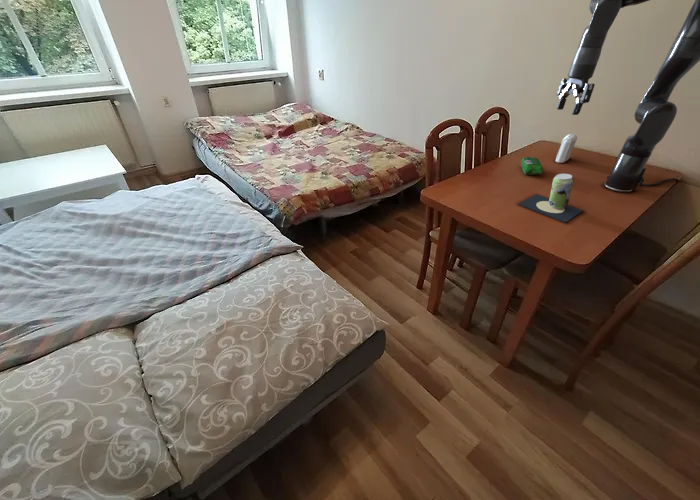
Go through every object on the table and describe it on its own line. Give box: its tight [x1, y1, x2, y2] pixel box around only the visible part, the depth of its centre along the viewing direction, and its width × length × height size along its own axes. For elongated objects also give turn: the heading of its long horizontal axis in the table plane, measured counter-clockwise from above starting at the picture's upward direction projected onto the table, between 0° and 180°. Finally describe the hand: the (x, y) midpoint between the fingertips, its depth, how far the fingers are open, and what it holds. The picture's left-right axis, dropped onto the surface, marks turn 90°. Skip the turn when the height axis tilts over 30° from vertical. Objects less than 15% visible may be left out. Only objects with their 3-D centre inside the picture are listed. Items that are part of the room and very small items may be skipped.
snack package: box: [520, 156, 544, 176], centre depth 146 cm, size 7×16×5 cm, turn 165°
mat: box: [518, 193, 584, 224], centre depth 119 cm, size 17×13×1 cm
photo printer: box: [555, 133, 578, 164], centre depth 155 cm, size 10×4×12 cm, turn 134°
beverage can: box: [549, 173, 574, 209], centre depth 116 cm, size 6×7×12 cm
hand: (567, 111), depth 122 cm, fingers open, 8 cm apart
